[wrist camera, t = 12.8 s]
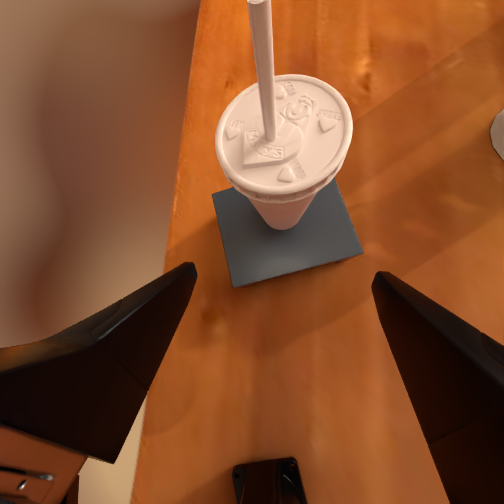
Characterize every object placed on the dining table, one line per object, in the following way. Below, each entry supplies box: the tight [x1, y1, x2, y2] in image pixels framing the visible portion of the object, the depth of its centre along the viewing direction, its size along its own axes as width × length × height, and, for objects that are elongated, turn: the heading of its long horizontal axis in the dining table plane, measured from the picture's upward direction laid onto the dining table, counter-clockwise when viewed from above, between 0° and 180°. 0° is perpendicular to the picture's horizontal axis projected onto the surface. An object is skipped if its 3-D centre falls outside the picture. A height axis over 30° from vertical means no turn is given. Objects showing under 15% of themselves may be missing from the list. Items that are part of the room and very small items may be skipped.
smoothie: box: [215, 0, 353, 230], centre depth 11 cm, size 6×6×14 cm
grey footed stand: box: [212, 178, 364, 288], centre depth 20 cm, size 10×12×4 cm
